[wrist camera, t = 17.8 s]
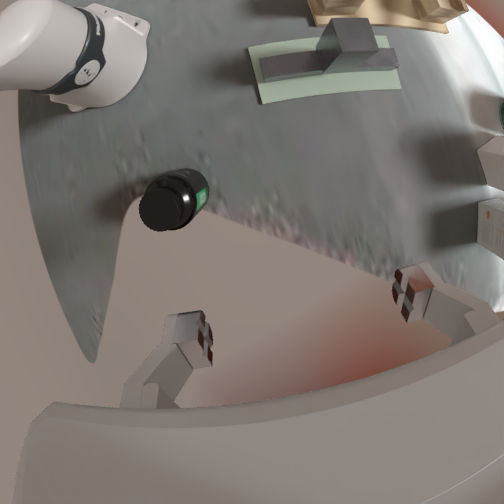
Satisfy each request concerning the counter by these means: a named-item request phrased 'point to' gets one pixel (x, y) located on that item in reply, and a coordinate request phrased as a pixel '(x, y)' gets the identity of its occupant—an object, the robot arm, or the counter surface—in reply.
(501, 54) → the counter surface
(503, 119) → the canned tomato
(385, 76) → the mat
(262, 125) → the counter surface
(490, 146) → the milk carton
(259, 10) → the counter surface
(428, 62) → the counter surface
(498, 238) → the small box
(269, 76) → the grey inverted t block
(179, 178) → the supplement bottle
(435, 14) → the stand
